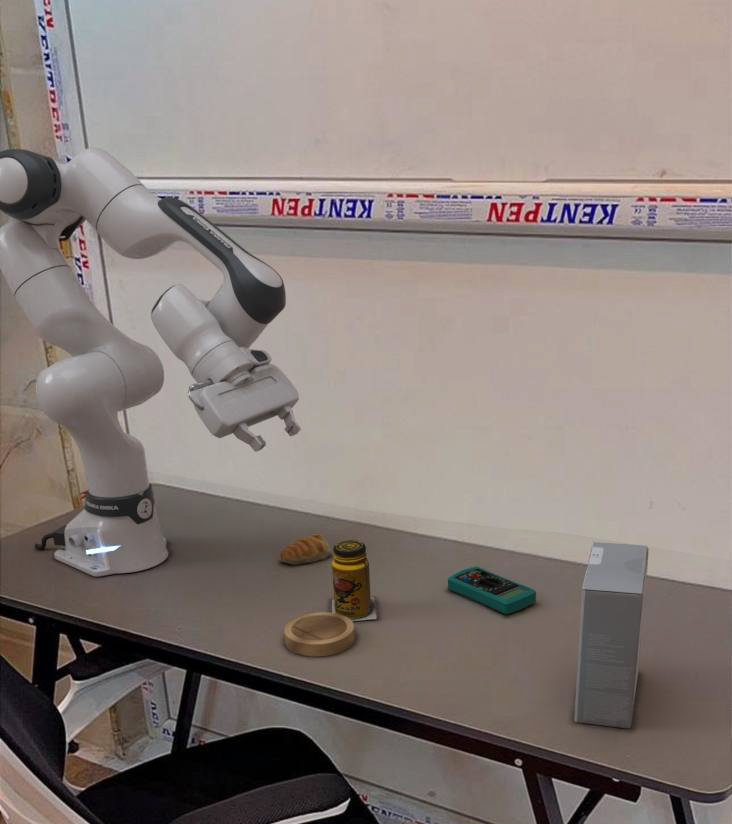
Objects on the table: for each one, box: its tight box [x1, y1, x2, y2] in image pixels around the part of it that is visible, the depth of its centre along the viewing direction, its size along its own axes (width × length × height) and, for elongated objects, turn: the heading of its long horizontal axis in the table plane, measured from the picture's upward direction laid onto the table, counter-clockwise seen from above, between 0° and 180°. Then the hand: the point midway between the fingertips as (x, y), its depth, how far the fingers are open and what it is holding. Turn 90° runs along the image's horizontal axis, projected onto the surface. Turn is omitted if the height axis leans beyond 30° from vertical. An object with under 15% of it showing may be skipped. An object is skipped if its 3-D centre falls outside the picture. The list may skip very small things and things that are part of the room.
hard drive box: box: [574, 541, 650, 729], centre depth 130 cm, size 16×8×20 cm, turn 163°
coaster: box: [283, 611, 356, 658], centre depth 152 cm, size 11×11×2 cm
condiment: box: [331, 539, 377, 622], centre depth 159 cm, size 7×8×12 cm
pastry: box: [279, 533, 332, 566], centre depth 182 cm, size 9×7×4 cm
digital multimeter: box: [447, 566, 537, 616], centre depth 164 cm, size 7×15×3 cm, turn 39°
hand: (279, 440), depth 156 cm, fingers open, 8 cm apart
